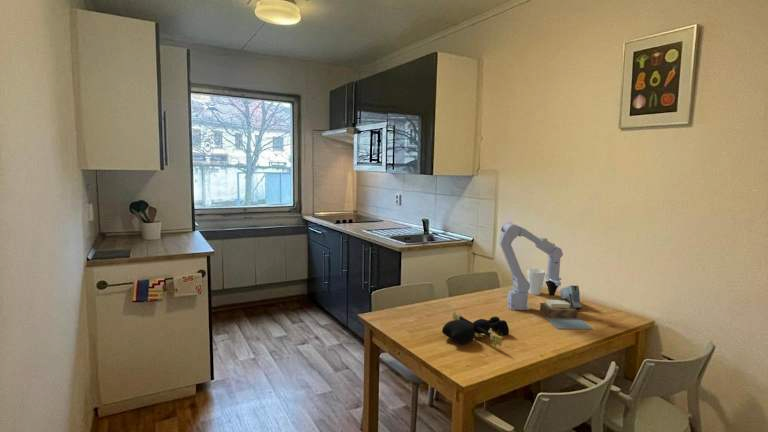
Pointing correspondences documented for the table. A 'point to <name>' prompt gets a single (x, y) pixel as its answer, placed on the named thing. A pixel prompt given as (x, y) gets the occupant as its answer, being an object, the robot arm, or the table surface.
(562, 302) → the cream flat block
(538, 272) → the foam cup
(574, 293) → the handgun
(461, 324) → the toy
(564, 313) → the brown flat block
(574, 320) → the mat
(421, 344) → the table surface
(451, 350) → the table surface
